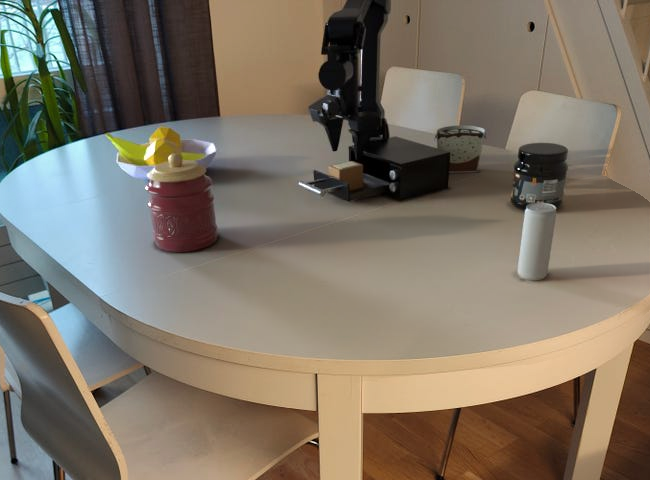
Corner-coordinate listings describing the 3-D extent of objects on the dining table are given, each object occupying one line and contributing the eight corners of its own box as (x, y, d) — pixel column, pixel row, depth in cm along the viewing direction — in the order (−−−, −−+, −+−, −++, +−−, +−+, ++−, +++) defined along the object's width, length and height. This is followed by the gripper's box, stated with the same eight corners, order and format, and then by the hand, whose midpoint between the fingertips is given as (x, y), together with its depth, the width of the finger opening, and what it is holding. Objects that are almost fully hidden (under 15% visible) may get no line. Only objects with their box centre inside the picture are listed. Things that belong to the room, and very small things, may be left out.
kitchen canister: (191, 257, 132) (178, 166, 122) (141, 247, 138) (125, 159, 129) (231, 234, 141) (222, 148, 132) (182, 226, 147) (170, 142, 138)
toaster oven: (346, 181, 167) (345, 146, 163) (394, 170, 173) (395, 136, 169) (397, 202, 152) (398, 164, 148) (448, 188, 158) (450, 152, 154)
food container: (480, 164, 173) (483, 123, 167) (483, 171, 167) (487, 129, 162) (430, 166, 174) (432, 125, 169) (432, 173, 169) (434, 131, 164)
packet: (329, 188, 158) (328, 165, 155) (352, 183, 160) (351, 160, 158) (339, 193, 154) (339, 169, 152) (363, 187, 157) (363, 164, 154)
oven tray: (293, 191, 159) (292, 174, 157) (357, 176, 166) (357, 159, 164) (326, 207, 148) (326, 189, 146) (393, 190, 156) (394, 172, 154)
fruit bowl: (236, 163, 187) (232, 120, 181) (183, 193, 166) (177, 146, 161) (152, 157, 198) (145, 116, 192) (92, 185, 177) (83, 140, 171)
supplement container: (525, 194, 151) (532, 139, 145) (571, 203, 145) (580, 146, 139) (500, 207, 145) (506, 150, 139) (546, 217, 139) (555, 158, 132)
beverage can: (512, 271, 118) (520, 203, 112) (540, 268, 118) (549, 201, 112) (523, 282, 114) (532, 213, 108) (551, 280, 114) (562, 210, 108)
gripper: (290, 81, 149) (294, 153, 157) (338, 92, 135) (339, 171, 143) (332, 74, 154) (334, 144, 162) (383, 84, 140) (382, 161, 148)
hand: (346, 155), depth 154 cm, fingers open, 9 cm apart
